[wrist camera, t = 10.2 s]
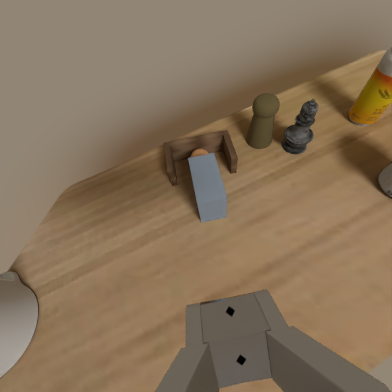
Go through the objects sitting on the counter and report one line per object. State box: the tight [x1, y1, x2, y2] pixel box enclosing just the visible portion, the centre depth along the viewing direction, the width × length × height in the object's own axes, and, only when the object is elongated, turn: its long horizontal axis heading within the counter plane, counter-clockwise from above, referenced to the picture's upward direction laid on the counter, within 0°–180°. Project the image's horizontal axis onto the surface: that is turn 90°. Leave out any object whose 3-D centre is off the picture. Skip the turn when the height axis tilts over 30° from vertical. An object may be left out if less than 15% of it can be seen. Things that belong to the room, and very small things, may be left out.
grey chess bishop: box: [282, 99, 318, 154], centre depth 43 cm, size 6×6×12 cm
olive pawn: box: [246, 93, 280, 149], centre depth 45 cm, size 6×6×11 cm
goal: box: [164, 130, 238, 186], centre depth 46 cm, size 14×8×5 cm, turn 100°
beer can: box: [348, 48, 392, 126], centre depth 43 cm, size 6×6×15 cm
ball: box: [190, 149, 209, 158], centre depth 46 cm, size 4×4×4 cm
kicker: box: [188, 153, 227, 222], centre depth 40 cm, size 5×10×8 cm, turn 10°
